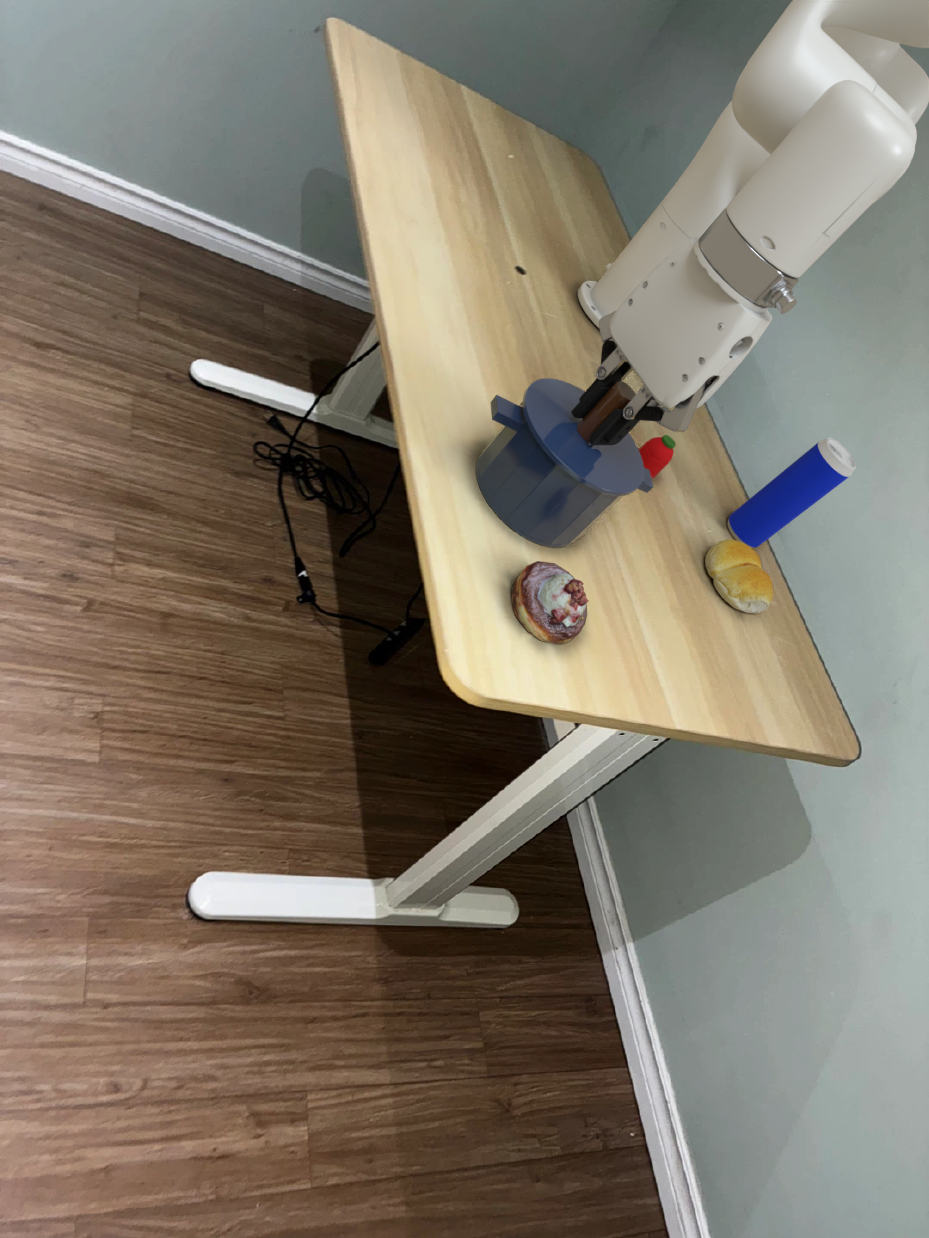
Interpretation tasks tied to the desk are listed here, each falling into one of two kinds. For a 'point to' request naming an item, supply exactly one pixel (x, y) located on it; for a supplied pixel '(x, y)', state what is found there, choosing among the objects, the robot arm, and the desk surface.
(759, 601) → the bread roll
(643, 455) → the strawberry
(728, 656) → the desk surface
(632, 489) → the lid
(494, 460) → the pot
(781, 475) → the beverage can
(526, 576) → the pastry
